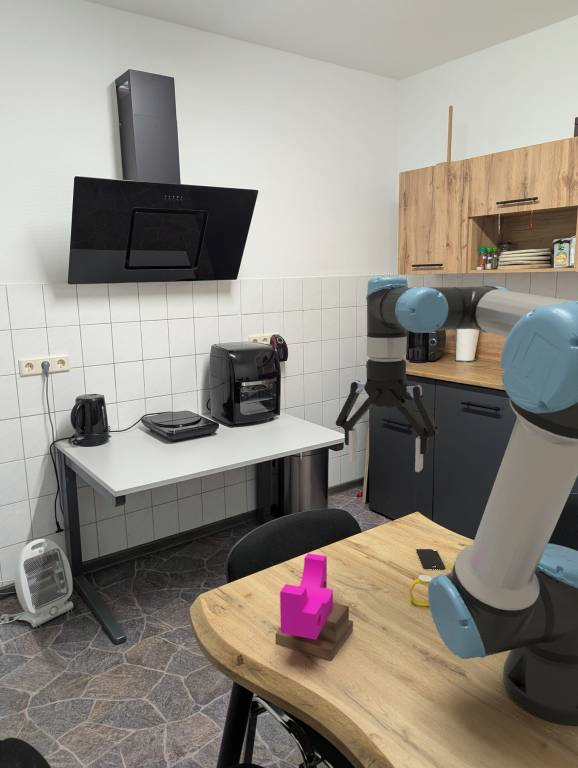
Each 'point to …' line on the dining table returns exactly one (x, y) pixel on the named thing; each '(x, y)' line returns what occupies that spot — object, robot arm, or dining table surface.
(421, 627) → the dining table surface
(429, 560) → the black smartphone
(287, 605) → the toy block
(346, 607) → the brown stepped wooden stand
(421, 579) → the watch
